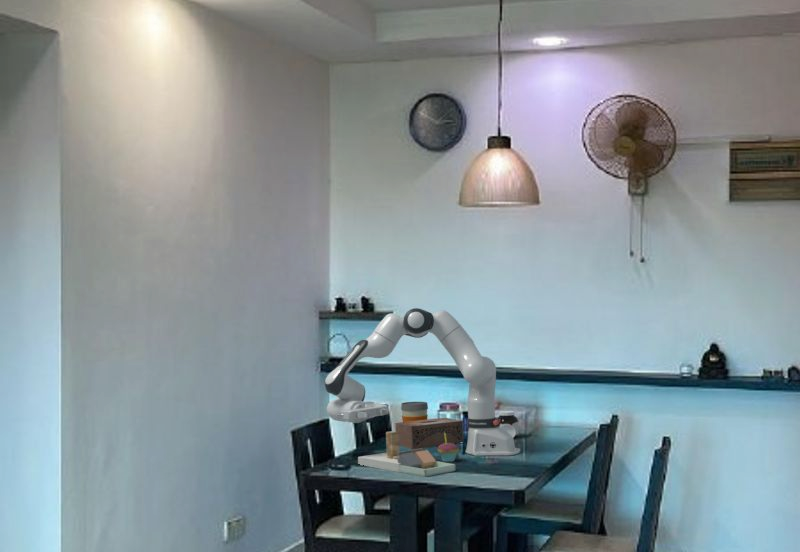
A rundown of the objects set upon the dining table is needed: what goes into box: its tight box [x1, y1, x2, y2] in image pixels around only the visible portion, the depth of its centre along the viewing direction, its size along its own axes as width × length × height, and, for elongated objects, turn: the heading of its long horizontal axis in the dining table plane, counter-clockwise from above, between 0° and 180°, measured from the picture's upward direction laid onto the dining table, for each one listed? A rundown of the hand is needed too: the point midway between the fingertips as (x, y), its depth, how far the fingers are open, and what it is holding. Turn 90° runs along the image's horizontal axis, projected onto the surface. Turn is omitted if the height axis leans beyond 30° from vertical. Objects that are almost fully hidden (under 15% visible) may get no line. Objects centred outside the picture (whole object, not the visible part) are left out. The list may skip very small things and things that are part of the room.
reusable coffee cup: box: [400, 401, 429, 422], centre depth 487 cm, size 13×13×15 cm
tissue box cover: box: [394, 417, 464, 450], centre depth 459 cm, size 26×14×10 cm, turn 119°
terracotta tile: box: [415, 449, 437, 469], centre depth 398 cm, size 6×6×3 cm
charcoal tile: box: [398, 452, 422, 468], centre depth 394 cm, size 6×6×3 cm
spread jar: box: [496, 410, 520, 439], centre depth 468 cm, size 12×11×12 cm
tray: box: [398, 460, 457, 478], centre depth 392 cm, size 15×15×2 cm
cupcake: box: [437, 431, 460, 463], centre depth 414 cm, size 9×8×12 cm
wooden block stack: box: [385, 430, 424, 463], centre depth 404 cm, size 13×12×10 cm
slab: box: [357, 451, 401, 473], centre depth 407 cm, size 25×15×3 cm, turn 40°
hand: (377, 413), depth 414 cm, fingers open, 8 cm apart
